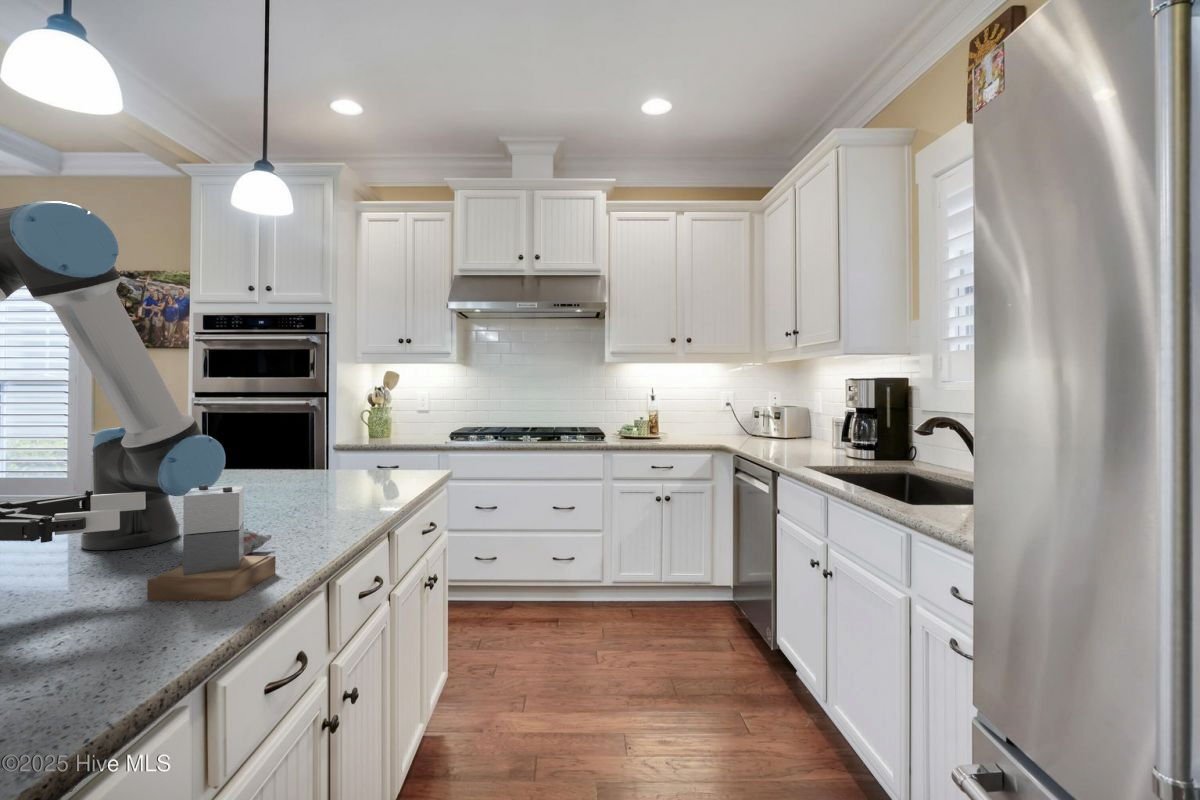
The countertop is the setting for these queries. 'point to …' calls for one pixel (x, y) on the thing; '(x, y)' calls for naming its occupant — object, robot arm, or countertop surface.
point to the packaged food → (253, 541)
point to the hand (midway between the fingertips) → (133, 509)
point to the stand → (211, 581)
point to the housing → (213, 529)
